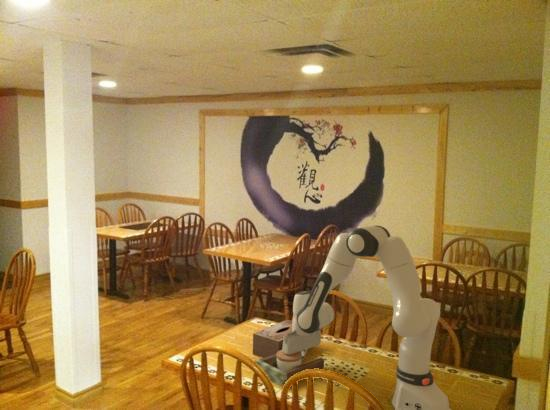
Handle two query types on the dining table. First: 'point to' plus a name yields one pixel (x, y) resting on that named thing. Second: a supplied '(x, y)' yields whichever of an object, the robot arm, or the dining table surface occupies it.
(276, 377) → the u-shaped frame
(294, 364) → the lidded jar
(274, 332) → the tissue box cover
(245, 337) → the dining table surface
